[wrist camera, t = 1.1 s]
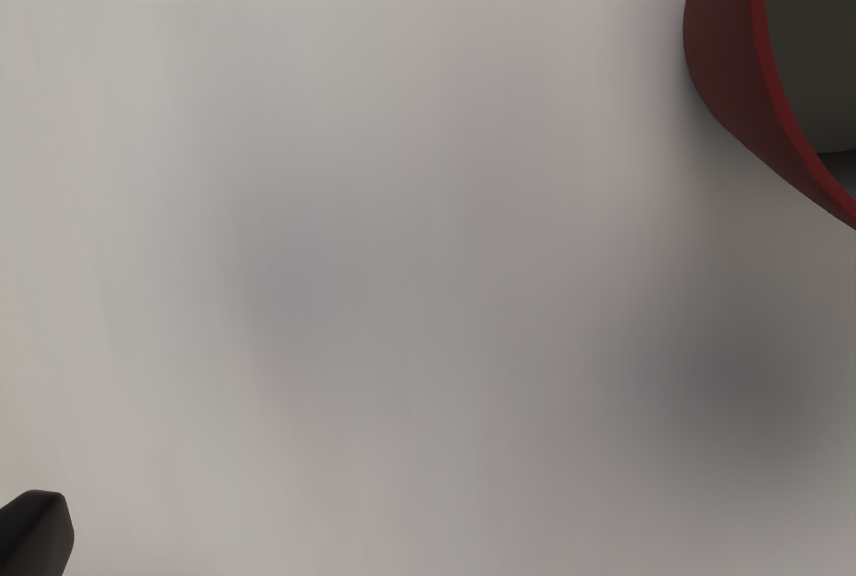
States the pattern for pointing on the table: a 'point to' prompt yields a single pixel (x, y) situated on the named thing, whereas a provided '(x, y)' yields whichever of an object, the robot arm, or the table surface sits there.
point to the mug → (783, 87)
